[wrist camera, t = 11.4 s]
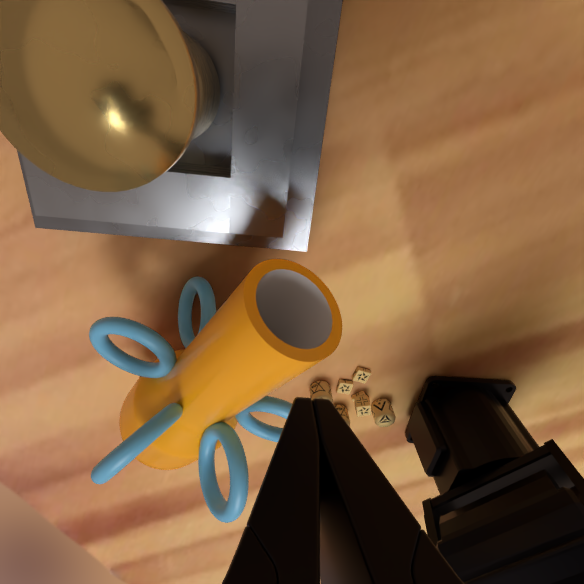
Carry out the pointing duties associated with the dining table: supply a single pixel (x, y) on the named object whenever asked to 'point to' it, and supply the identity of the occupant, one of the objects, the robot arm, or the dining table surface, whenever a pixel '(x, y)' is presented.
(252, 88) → the plate
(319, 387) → the mottled tan cylinder cluster
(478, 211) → the dining table surface
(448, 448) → the robot arm
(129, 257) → the dining table surface
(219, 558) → the dining table surface
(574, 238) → the dining table surface
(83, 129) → the bushing
